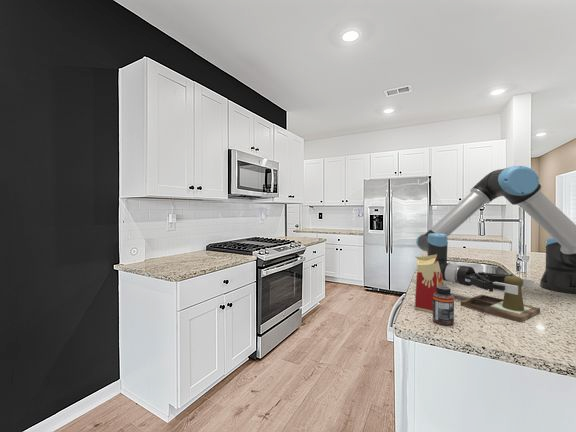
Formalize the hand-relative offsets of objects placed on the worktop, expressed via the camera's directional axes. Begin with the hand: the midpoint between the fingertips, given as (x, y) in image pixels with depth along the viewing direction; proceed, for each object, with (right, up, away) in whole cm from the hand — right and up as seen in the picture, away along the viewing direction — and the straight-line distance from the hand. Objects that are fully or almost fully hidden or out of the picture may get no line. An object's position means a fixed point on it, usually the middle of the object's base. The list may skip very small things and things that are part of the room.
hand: (526, 287), depth 97 cm
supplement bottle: (-31, -10, -5) cm, 33 cm away
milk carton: (-29, -10, +8) cm, 32 cm away
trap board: (-4, -10, +7) cm, 12 cm away
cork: (-2, -8, +3) cm, 9 cm away
